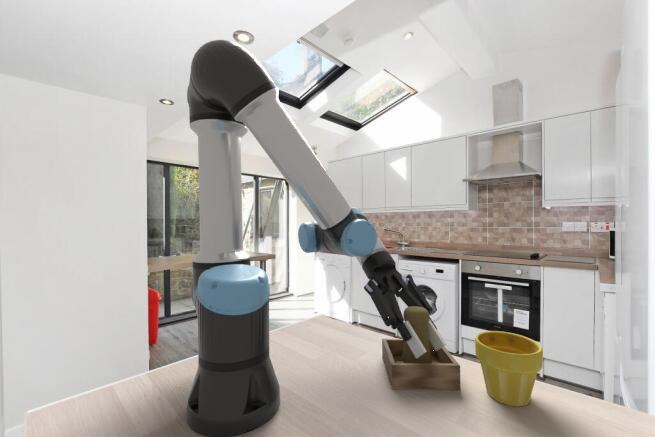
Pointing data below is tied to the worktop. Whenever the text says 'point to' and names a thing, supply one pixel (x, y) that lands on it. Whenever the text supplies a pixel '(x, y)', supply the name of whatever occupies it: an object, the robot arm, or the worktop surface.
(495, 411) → the worktop surface
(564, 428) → the worktop surface
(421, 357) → the cork
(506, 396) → the plant pot
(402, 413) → the worktop surface
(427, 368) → the walnut crate
